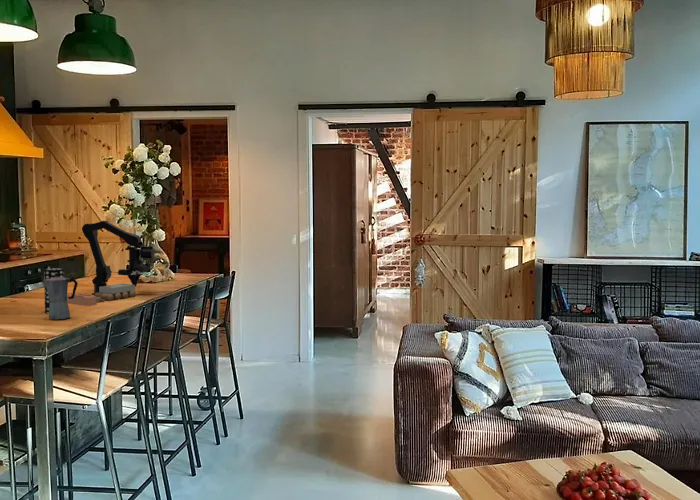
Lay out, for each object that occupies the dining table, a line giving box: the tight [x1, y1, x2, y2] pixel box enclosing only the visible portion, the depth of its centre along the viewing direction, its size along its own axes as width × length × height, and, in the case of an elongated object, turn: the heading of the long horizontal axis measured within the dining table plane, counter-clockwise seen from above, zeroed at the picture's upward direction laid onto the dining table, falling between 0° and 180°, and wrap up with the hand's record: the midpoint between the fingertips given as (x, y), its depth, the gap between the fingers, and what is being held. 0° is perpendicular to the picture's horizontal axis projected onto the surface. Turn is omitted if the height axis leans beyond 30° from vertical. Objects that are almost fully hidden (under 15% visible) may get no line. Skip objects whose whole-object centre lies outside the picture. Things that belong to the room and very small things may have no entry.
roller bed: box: [94, 290, 136, 303], centre depth 343 cm, size 10×28×4 cm, turn 153°
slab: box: [99, 283, 136, 294], centre depth 349 cm, size 9×16×3 cm, turn 153°
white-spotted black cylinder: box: [43, 267, 65, 315], centre depth 303 cm, size 8×8×20 cm
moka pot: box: [41, 273, 79, 321], centre depth 289 cm, size 10×15×20 cm, turn 95°
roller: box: [96, 297, 101, 304], centre depth 335 cm, size 8×3×3 cm
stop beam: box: [67, 293, 98, 307], centre depth 328 cm, size 16×5×4 cm, turn 63°
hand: (134, 286), depth 360 cm, fingers closed
